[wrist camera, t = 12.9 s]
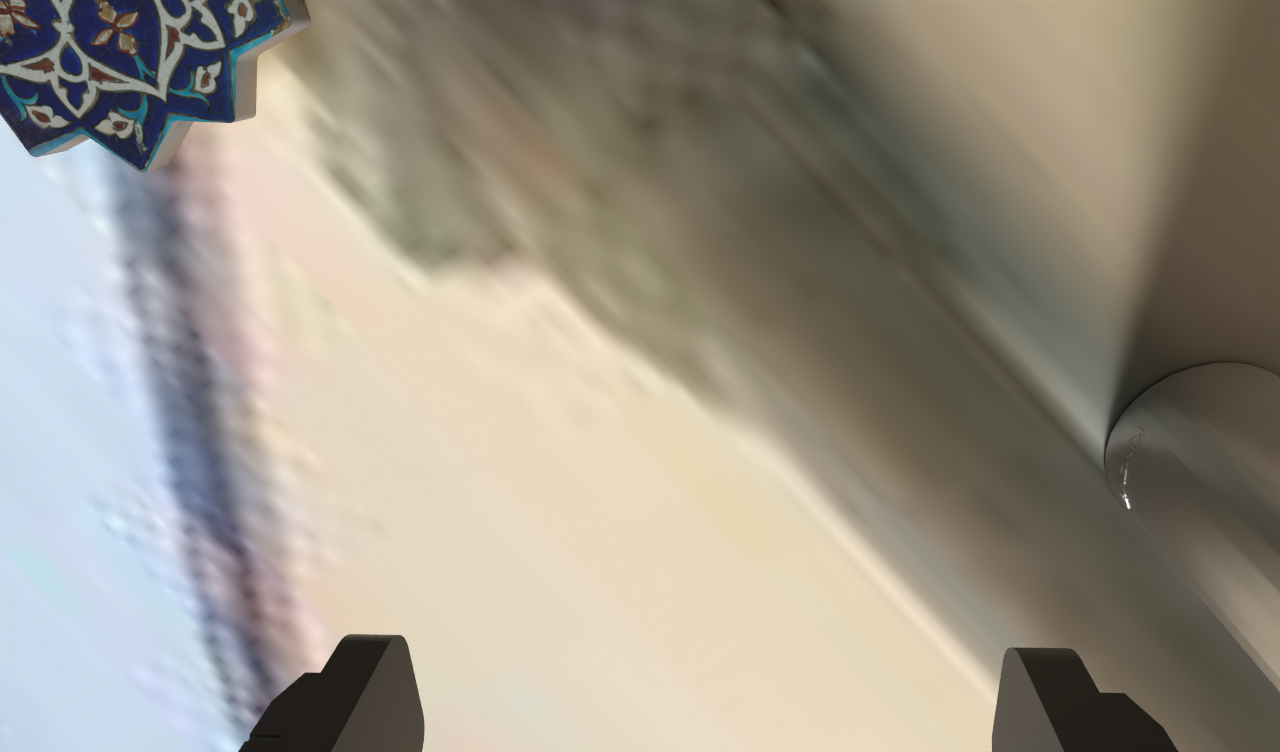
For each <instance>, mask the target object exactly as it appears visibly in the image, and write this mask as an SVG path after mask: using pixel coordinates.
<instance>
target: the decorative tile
mask: <svg viewBox="0 0 1280 752" xmlns="http://www.w3.org/2000/svg"><path fill="white" fill-rule="evenodd" d="M310 22H311V20H310V17H309V14H308V12H307V10H306V7H305V5H304V3H303V0H0V114H1V116H2V117H3V118H4V120H5V121H6V122H7V124H8V125H9V127H10V128H11V129H12V131H13V132H14V133H15V135H16V136H17V137H18V139H19V140H20V141H21V143H22V144H23V145H24V147H25V148H26V150H27V151H28V152H29V154H30V155H32V156H34V157H40V156H44V155H49V154H53V153H58V152H63V151H67V150H69V149H71V148H72V147H74V146H76V145H78V144H80V143H82V142H84V141H86V140H88V139H90V138H91V139H92V140H94V141H95V142H97V143H98V144H100V145H101V146H103V147H104V148H106V149H107V150H109V151H110V152H112V153H113V154H114V155H116V156H117V157H119V158H120V159H122V160H123V161H125V162H126V163H128V164H129V165H131V166H132V167H134V168H135V169H136V170H138V171H140V172H146V171H149V170H153V169H156V168H160V167H163V166H167V165H169V164H170V163H171V161H172V160H173V158H174V156H175V154H176V152H177V151H178V149H179V147H180V145H181V143H182V141H183V140H184V138H185V136H186V134H187V132H188V130H189V129H190V127H191V125H192V123H193V121H197V122H220V123H232V122H237V121H241V120H245V119H249V118H253V117H254V116H255V114H256V85H257V59H258V56H259V55H260V54H261V53H262V52H264V51H266V50H267V49H269V48H271V47H273V46H275V45H276V44H278V43H280V42H282V41H283V40H285V39H287V38H289V37H290V36H292V35H294V34H296V33H297V32H299V31H301V30H303V29H304V28H306V27H308V26H309V25H310Z"/></svg>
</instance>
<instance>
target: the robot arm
mask: <svg viewBox="0 0 1280 752" xmlns="http://www.w3.org/2000/svg"><path fill="white" fill-rule="evenodd" d="M1105 469H1106V474H1107V478H1108V483H1109V484H1110V486H1111V488H1112V490H1113V492H1114V494H1115V496H1116V497H1117V498H1118V499H1119V500H1120V502H1121V503H1122V504H1123V505H1124V506H1125V508H1126V509H1127V510H1128V511H1129V512H1130V514H1131V515H1132V516H1133V517H1134V518H1135V520H1136V521H1137V522H1138V523H1139V524H1140V526H1141V527H1142V528H1143V529H1144V530H1145V531H1146V533H1147V534H1148V535H1149V536H1150V537H1151V539H1152V540H1153V542H1154V543H1155V544H1156V545H1157V546H1158V548H1159V549H1160V550H1161V551H1162V552H1163V554H1164V555H1165V556H1166V557H1167V558H1168V559H1169V561H1170V562H1171V563H1172V564H1173V565H1174V567H1175V568H1176V569H1177V570H1178V571H1179V573H1180V574H1181V575H1182V576H1183V577H1184V579H1185V580H1186V581H1187V582H1188V583H1189V585H1190V586H1191V587H1192V588H1193V589H1194V591H1195V592H1196V593H1197V594H1198V595H1199V596H1200V598H1201V599H1202V600H1203V601H1204V602H1205V604H1206V605H1207V606H1208V607H1209V608H1210V610H1211V611H1212V612H1213V613H1214V614H1215V616H1216V617H1217V618H1218V619H1219V620H1220V622H1221V623H1222V624H1223V625H1224V626H1225V628H1226V629H1227V630H1228V631H1229V632H1230V633H1231V635H1232V636H1233V637H1234V638H1235V639H1236V641H1237V642H1238V643H1239V644H1240V645H1241V647H1242V648H1243V649H1244V650H1245V651H1246V653H1247V654H1248V655H1249V656H1250V657H1251V659H1252V660H1253V661H1254V662H1255V663H1256V665H1257V666H1258V667H1259V668H1260V669H1261V670H1262V672H1263V673H1264V674H1265V675H1266V676H1267V678H1268V679H1269V680H1270V681H1271V682H1272V684H1273V685H1274V686H1275V687H1276V688H1277V690H1278V691H1279V692H1280V377H1279V376H1277V375H1276V374H1274V373H1272V372H1270V371H1267V370H1265V369H1262V368H1260V367H1257V366H1253V365H1247V364H1241V363H1212V364H1207V365H1202V366H1197V367H1192V368H1189V369H1186V370H1184V371H1181V372H1179V373H1176V374H1173V375H1171V376H1169V377H1167V378H1165V379H1164V380H1162V381H1160V382H1158V383H1157V384H1155V385H1153V386H1151V387H1150V388H1149V389H1148V390H1146V391H1145V392H1144V393H1143V394H1141V395H1140V396H1139V397H1138V398H1137V399H1135V400H1134V401H1133V402H1132V404H1131V405H1130V406H1129V407H1128V408H1127V409H1126V411H1125V412H1124V413H1123V414H1122V415H1121V416H1120V418H1119V420H1118V422H1117V424H1116V425H1115V427H1114V429H1113V431H1112V432H1111V435H1110V438H1109V442H1108V445H1107V448H1106V457H1105ZM423 742H424V716H423V711H422V707H421V702H420V698H419V693H418V689H417V684H416V680H415V675H414V671H413V666H412V662H411V657H410V653H409V648H408V645H407V642H406V640H405V638H404V637H403V636H401V635H364V634H350V635H347V636H345V637H344V638H343V639H342V640H341V641H340V643H339V644H338V645H337V647H336V649H335V650H334V652H333V654H332V655H331V657H330V658H329V660H328V662H327V663H326V665H325V667H324V668H323V670H322V671H321V673H304V674H303V675H302V676H301V677H300V678H298V679H297V680H296V681H295V682H294V683H293V684H291V685H290V686H289V687H288V688H287V689H285V690H284V691H283V692H282V693H281V694H280V695H278V696H277V697H276V698H275V699H274V700H273V701H272V702H271V703H270V705H269V706H268V708H267V709H266V711H265V712H264V714H263V715H262V717H261V718H260V720H259V721H258V723H257V724H256V726H255V727H254V729H253V730H252V732H251V733H250V739H249V741H245V742H244V744H243V745H242V747H241V749H240V750H239V752H422V748H423ZM992 752H1178V751H1177V749H1176V747H1175V746H1174V744H1173V742H1172V741H1171V739H1170V738H1169V736H1168V734H1167V733H1166V731H1165V730H1164V728H1163V727H1162V726H1161V725H1160V724H1159V723H1158V722H1156V721H1155V720H1154V719H1153V718H1152V717H1151V716H1150V715H1148V714H1147V713H1146V712H1145V711H1144V710H1143V709H1142V708H1140V707H1139V706H1138V705H1137V704H1136V703H1135V702H1134V701H1132V700H1131V699H1130V698H1129V697H1128V696H1127V695H1126V694H1124V693H1100V692H1099V691H1098V689H1097V687H1096V685H1095V683H1094V682H1093V680H1092V678H1091V676H1090V675H1089V673H1088V671H1087V669H1086V667H1085V666H1084V664H1083V662H1082V660H1081V659H1080V657H1079V655H1078V654H1077V653H1076V652H1075V651H1074V650H1072V649H1068V648H1008V649H1007V650H1006V652H1005V655H1004V659H1003V665H1002V672H1001V678H1000V685H999V692H998V699H997V705H996V712H995V719H994V726H993V733H992Z"/></svg>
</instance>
